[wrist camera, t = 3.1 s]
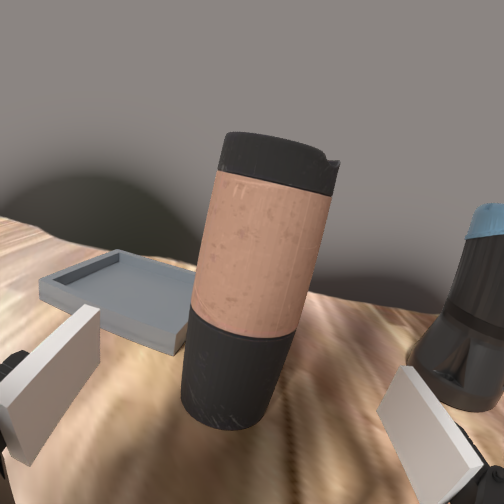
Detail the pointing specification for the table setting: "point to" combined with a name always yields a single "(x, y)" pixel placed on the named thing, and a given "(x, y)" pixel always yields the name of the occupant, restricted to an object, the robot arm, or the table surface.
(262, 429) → the table surface
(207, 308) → the travel mug
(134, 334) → the slate tray
